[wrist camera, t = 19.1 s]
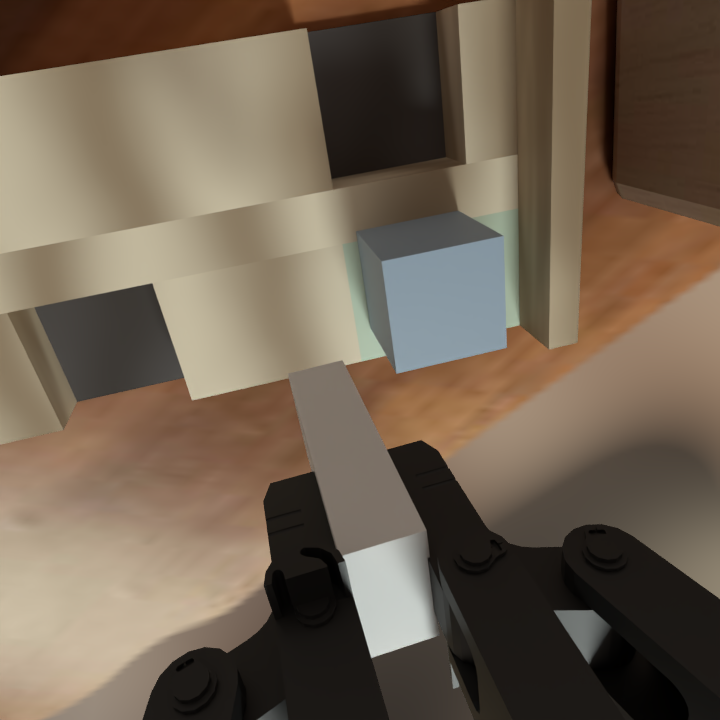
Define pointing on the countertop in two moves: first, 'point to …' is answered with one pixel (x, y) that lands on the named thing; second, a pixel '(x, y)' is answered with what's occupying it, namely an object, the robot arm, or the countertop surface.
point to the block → (668, 106)
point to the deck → (276, 196)
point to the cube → (434, 289)
